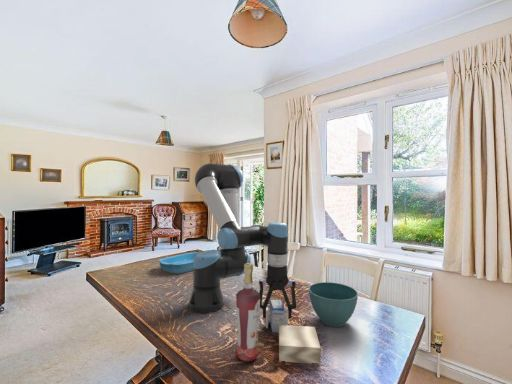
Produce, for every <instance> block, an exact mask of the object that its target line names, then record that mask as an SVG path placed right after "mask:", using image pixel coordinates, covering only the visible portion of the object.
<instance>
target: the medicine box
mask: <svg viewBox="0 0 512 384" xmlns="http://www.w3.org/2000/svg"><path fill="white" fill-rule="evenodd" d="M285 319H286V308H285V307H284V305H283V302H282V300H281V299H270V300H269V317H268V323H269V324H270V328H271V332H272V333H279V325H285Z"/></svg>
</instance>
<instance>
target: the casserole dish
mask: <svg viewBox="0 0 512 384" xmlns="http://www.w3.org/2000/svg"><path fill="white" fill-rule="evenodd" d="M198 253H199V252H187V253H182V254H177V255H172V256H168V257H164V258H161V259H159V260H158V262H159V266H160V268H161V270H162V271H164V272H167V273H169V274H170V273H171V274H175V275H178V274H179V275H180V274H185V273H188V272H192V271H193V264H194V257H195V255H197V254H198Z"/></svg>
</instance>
